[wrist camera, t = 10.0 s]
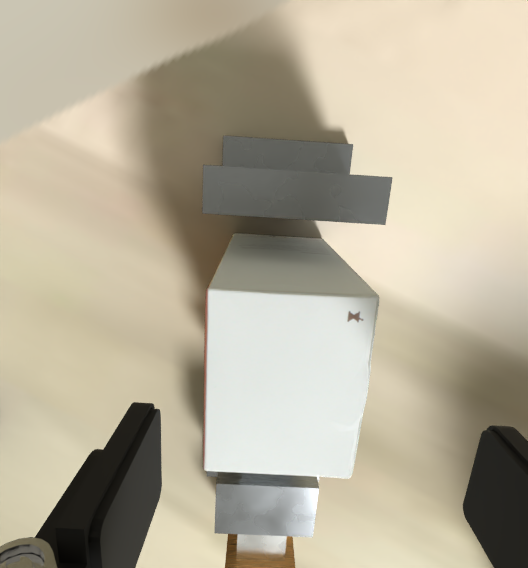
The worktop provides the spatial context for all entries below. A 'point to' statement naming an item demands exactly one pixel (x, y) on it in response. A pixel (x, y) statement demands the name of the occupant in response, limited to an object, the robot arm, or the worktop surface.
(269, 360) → the small box
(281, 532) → the guide block
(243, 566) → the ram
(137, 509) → the robot arm
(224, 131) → the worktop surface
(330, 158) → the plate
